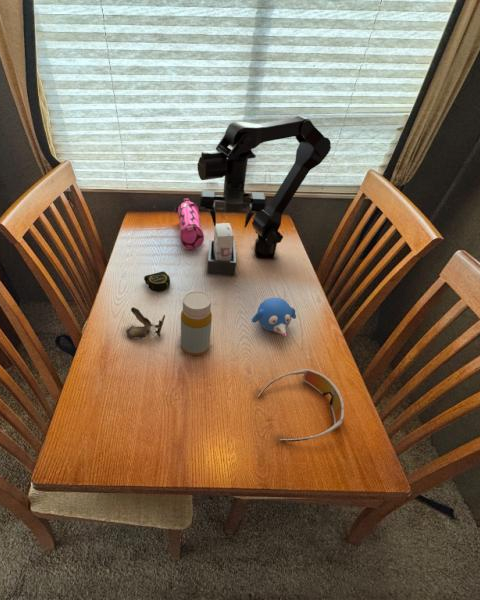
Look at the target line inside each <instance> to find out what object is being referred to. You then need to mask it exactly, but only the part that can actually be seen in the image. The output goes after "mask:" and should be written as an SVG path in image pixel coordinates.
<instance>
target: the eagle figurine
mask: <svg viewBox="0 0 480 600" xmlns="http://www.w3.org/2000/svg"><path fill="white" fill-rule="evenodd" d="M130 311H131V312H132V314H133V315H134V316H135V317H136V320H137V321H139V322H140V323H141V324H142V325H143V326H134V325H132V326H130V327H129V328H127V329H126V332H125V333H126V336H127V338H129V339H145V338H146V336H147V335H148V334H149V336H150V338H153V337H154V336H155V335H157V337H159V338H161V331H162V328H163V325H164V321H165V319H166V314H163V316H162V318H161V319H159V321H158V324H152V322H151V320H150V319H148V318H147V317H145V316H144V315H143V314H142V312H141V311H140V309H138V308H136V307H133V306H132V307H131V308H130Z"/></svg>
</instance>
